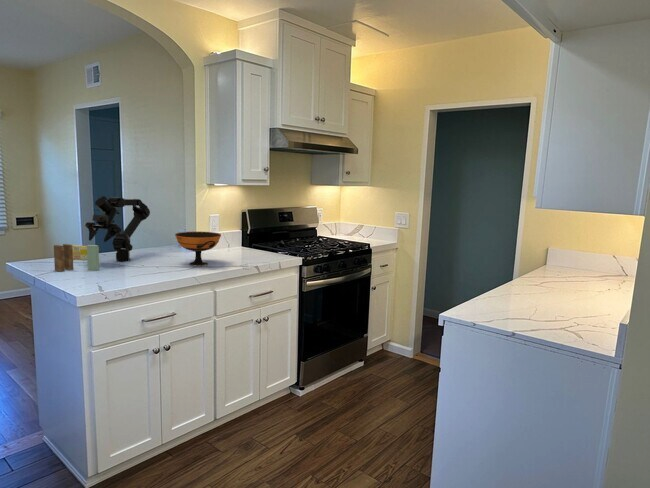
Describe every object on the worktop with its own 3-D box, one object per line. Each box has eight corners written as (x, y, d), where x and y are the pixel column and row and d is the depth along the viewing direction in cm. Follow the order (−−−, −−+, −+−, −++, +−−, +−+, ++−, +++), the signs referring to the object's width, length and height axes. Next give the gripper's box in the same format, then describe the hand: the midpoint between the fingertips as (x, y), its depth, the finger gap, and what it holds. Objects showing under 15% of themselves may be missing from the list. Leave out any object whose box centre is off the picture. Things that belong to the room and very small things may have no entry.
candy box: (99, 260, 261) (99, 246, 260) (97, 261, 259) (96, 247, 257) (73, 258, 262) (72, 244, 261) (70, 259, 260) (70, 245, 259)
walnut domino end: (58, 269, 233) (57, 244, 231) (64, 271, 231) (63, 245, 229) (54, 270, 231) (53, 245, 230) (60, 271, 229) (59, 246, 227)
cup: (165, 260, 268) (165, 231, 266) (206, 257, 284) (206, 229, 281) (188, 272, 240) (188, 239, 238) (232, 268, 256) (232, 237, 253)
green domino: (90, 269, 237) (89, 244, 235) (98, 269, 237) (98, 245, 235) (87, 270, 235) (86, 245, 233) (96, 270, 235) (95, 246, 233)
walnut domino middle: (67, 268, 237) (66, 243, 235) (73, 269, 235) (72, 244, 233) (63, 268, 235) (62, 244, 234) (69, 270, 233) (68, 245, 231)
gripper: (85, 207, 244) (72, 231, 236) (115, 209, 240) (103, 234, 232) (97, 218, 253) (85, 242, 246) (126, 220, 249) (115, 245, 242)
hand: (96, 241), depth 241 cm, fingers open, 9 cm apart
